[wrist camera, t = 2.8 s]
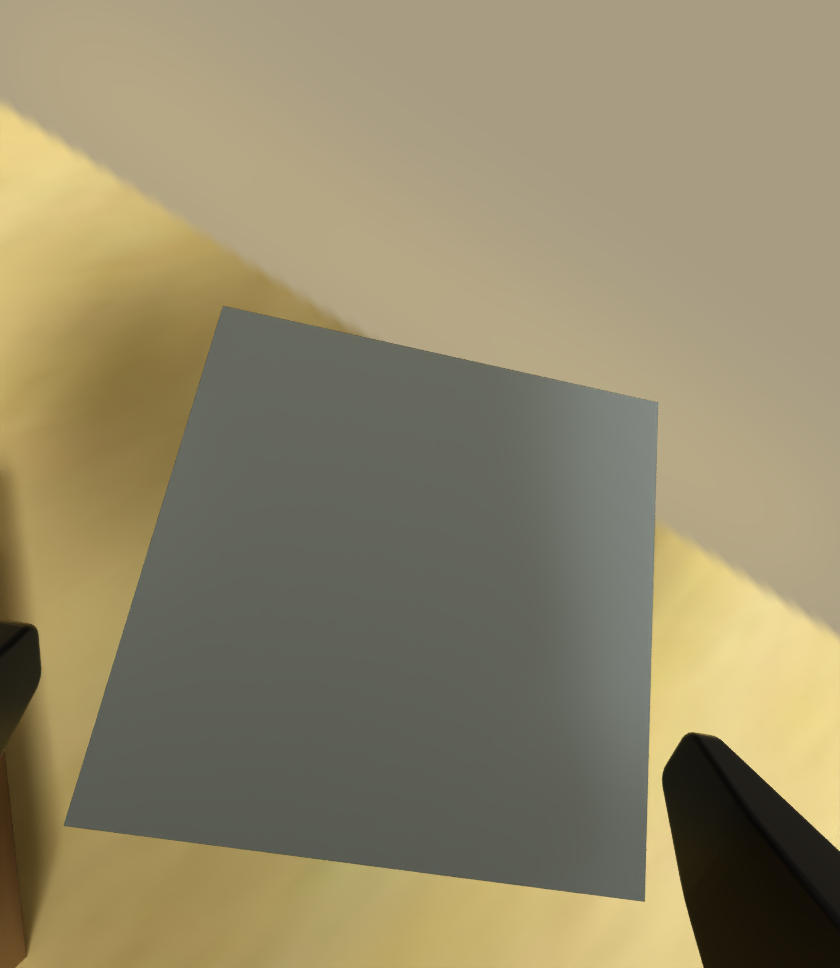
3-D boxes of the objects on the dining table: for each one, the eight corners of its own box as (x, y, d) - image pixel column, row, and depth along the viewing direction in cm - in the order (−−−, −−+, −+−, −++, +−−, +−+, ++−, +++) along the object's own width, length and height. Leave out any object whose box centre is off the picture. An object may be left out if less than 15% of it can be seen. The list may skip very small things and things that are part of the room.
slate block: (433, 755, 17) (645, 902, 6) (234, 725, 16) (63, 825, 5) (459, 562, 18) (657, 402, 8) (280, 528, 18) (222, 305, 7)
